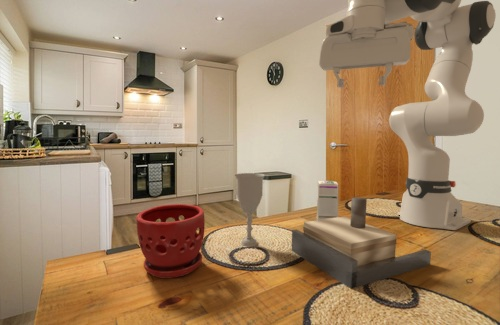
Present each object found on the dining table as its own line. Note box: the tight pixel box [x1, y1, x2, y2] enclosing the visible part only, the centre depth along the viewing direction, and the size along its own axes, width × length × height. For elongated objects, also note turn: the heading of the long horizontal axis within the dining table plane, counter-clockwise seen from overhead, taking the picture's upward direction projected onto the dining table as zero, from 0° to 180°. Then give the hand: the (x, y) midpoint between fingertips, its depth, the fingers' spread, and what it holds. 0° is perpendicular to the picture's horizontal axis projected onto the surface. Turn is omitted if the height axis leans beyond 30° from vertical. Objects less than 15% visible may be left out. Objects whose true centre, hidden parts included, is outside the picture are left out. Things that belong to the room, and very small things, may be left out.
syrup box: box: [316, 180, 340, 220], centre depth 82 cm, size 6×6×14 cm
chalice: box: [234, 172, 266, 248], centre depth 68 cm, size 7×7×18 cm
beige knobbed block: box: [302, 196, 397, 267], centre depth 60 cm, size 12×14×13 cm
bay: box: [291, 229, 432, 290], centre depth 61 cm, size 22×18×6 cm
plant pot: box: [136, 203, 205, 279], centre depth 58 cm, size 13×13×12 cm
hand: (360, 85), depth 68 cm, fingers open, 8 cm apart
